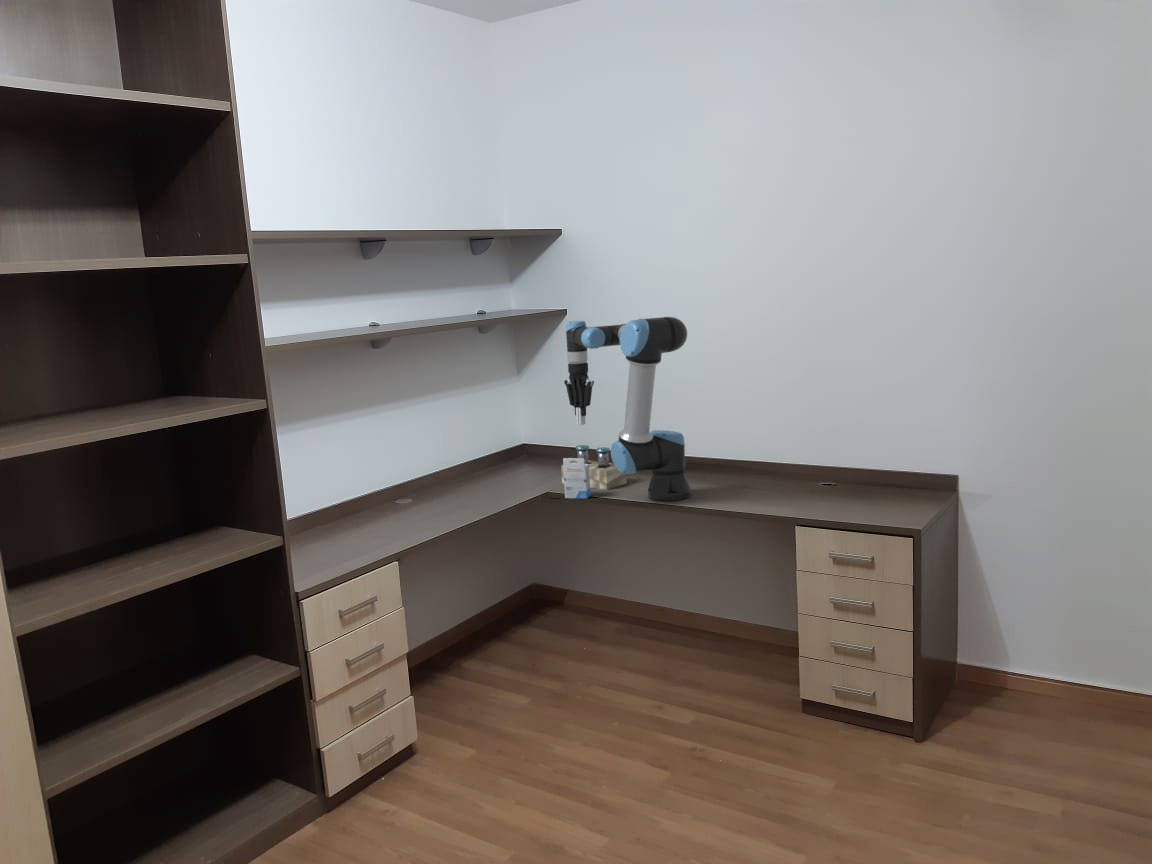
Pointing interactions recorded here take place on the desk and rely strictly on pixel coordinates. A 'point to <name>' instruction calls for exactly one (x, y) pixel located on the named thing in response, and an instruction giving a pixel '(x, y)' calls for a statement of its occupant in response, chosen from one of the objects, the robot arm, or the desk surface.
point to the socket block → (603, 476)
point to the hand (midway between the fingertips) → (581, 424)
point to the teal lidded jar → (583, 452)
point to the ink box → (576, 478)
